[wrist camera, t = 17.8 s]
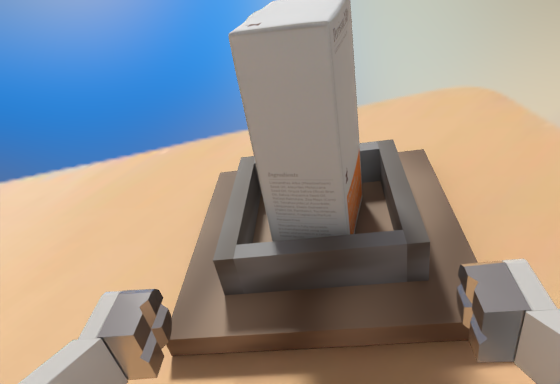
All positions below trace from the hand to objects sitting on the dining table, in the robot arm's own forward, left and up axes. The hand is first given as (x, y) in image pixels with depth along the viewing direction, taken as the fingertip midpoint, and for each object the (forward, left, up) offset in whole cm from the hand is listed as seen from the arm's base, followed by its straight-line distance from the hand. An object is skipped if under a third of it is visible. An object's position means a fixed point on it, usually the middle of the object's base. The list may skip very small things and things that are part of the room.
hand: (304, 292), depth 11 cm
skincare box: (0, +12, -7) cm, 13 cm away
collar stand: (0, +12, -8) cm, 14 cm away
